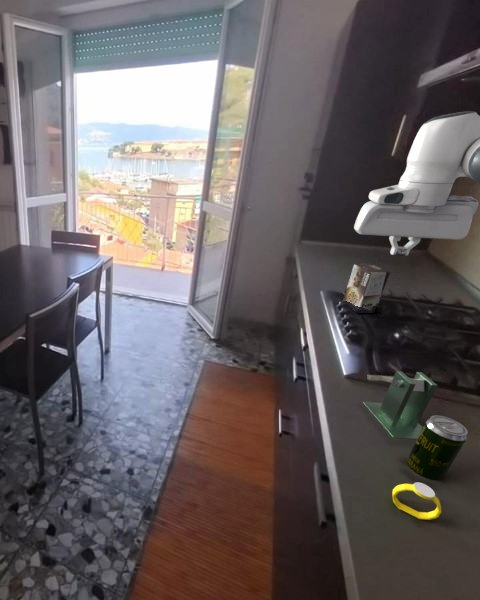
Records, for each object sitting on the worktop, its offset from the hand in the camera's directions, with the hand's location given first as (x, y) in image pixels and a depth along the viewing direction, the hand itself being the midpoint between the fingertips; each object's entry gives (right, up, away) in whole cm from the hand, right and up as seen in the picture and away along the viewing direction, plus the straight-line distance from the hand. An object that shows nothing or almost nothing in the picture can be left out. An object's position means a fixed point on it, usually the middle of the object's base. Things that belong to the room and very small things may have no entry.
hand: (398, 254), depth 84 cm
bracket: (-5, -39, -4) cm, 39 cm away
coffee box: (+27, -14, +47) cm, 55 cm away
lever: (-5, -30, -5) cm, 31 cm away
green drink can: (-9, -44, -15) cm, 48 cm away
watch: (-18, -48, -23) cm, 56 cm away
